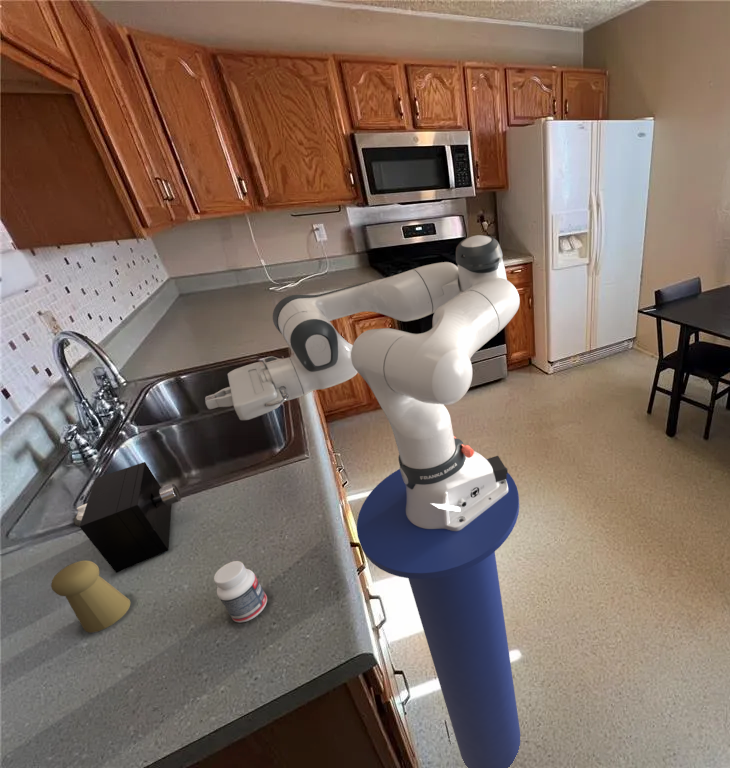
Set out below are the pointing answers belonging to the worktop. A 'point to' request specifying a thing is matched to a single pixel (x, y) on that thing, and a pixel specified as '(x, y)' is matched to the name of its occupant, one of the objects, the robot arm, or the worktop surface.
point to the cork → (90, 596)
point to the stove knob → (79, 515)
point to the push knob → (167, 495)
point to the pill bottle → (240, 591)
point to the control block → (127, 517)
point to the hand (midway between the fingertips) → (206, 403)
